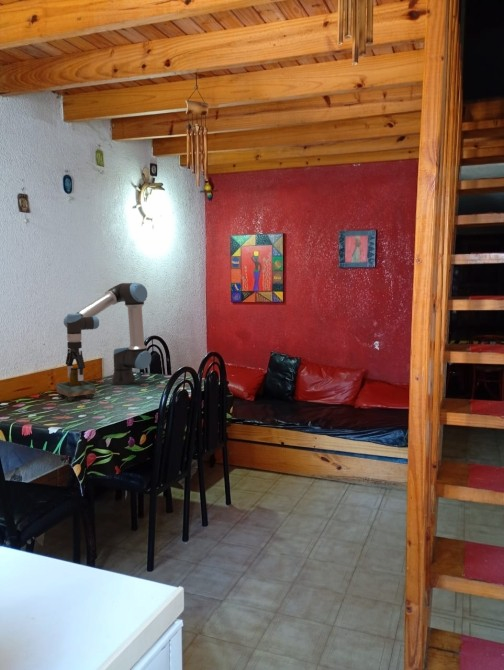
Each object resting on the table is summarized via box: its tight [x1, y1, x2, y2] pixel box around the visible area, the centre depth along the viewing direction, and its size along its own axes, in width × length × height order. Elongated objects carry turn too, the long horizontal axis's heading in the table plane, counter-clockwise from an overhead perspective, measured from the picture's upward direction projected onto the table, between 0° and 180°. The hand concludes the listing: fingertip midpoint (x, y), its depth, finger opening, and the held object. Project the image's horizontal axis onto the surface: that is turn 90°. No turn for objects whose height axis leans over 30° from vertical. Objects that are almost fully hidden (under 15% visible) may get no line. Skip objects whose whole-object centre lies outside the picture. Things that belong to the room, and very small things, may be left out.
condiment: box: [69, 366, 83, 387], centre depth 296 cm, size 7×8×12 cm
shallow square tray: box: [56, 380, 96, 402], centre depth 298 cm, size 15×17×8 cm
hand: (75, 379), depth 297 cm, fingers open, 13 cm apart
